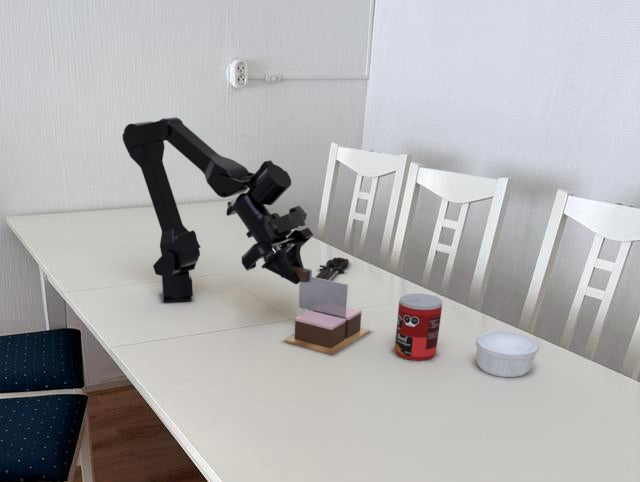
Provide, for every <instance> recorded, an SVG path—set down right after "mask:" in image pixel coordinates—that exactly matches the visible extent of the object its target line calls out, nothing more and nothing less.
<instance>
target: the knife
mask: <svg viewBox="0 0 640 482" xmlns="http://www.w3.org/2000/svg"><path fill="white" fill-rule="evenodd" d="M349 263H350V260H349V259H348V258H344V257H332V259H328V260H327V261H326V264H325V265H321V264H320V265H319V271H320V272H319V273H317V275H316V276H314V277H315V278H320V279H325V280H329V281H332V280H333V278H334V277H335V276H336V275H337V274H338V275H339V274H345V270H346V269H347V268H348V266H349V265H348V264H349Z"/></svg>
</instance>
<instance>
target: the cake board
mask: <svg viewBox="0 0 640 482" xmlns="http://www.w3.org/2000/svg"><path fill="white" fill-rule="evenodd" d="M369 333H370V330H369V329H366V328H362V327H360V331H359V332H357V333H355V334H354V335H352V336H350V337H349V338H345V340H344V341H342V342H341V343H339V344H337V345H336V346H334V347H332V348H331V349H330V348H327V347H323V346H319V345H315V344H312V343H308V342H304V341H301V340H297V339H295V334H293V335H291V336H289V337H287V338H286V339H284V343H286V344H287V343H288V344H291V345H295V346H298V347H302V348H305V349H309V350H313V351H316V352H320V353H324V354H328V355H331V356H333V355H335V354H337V353H338V352H340V351H341V350H343V349H344V348H346V347H348V346H349V345H351V344H352V343H355V342H356V341H358V340H359V339H361V338H362V337H364V336H366V335H367V334H369Z"/></svg>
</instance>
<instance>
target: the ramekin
mask: <svg viewBox="0 0 640 482" xmlns="http://www.w3.org/2000/svg"><path fill="white" fill-rule="evenodd" d="M475 346H476V364H477V365H478V367H479V368H480V370H482V371H483V372H484V373H487V374H489V375H492V376H495V377H501V378H517V377H522V376H524V375H526V374H527V373H528V372H529V371H530V370H531V368H532V366H533V363H534V360H535V357H536V355H537V353H538V352H539V349H540V347H539V343H538V342H537V341H536V340H535V339H534V338H532V337H531V336H528V335H526V334H522V333H519V332H515V331H506V330H505V331H504V330H492V331H491V330H490V331H486V332H483V333H480V334H479V335H478V336H477V337H476V339H475Z"/></svg>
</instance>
